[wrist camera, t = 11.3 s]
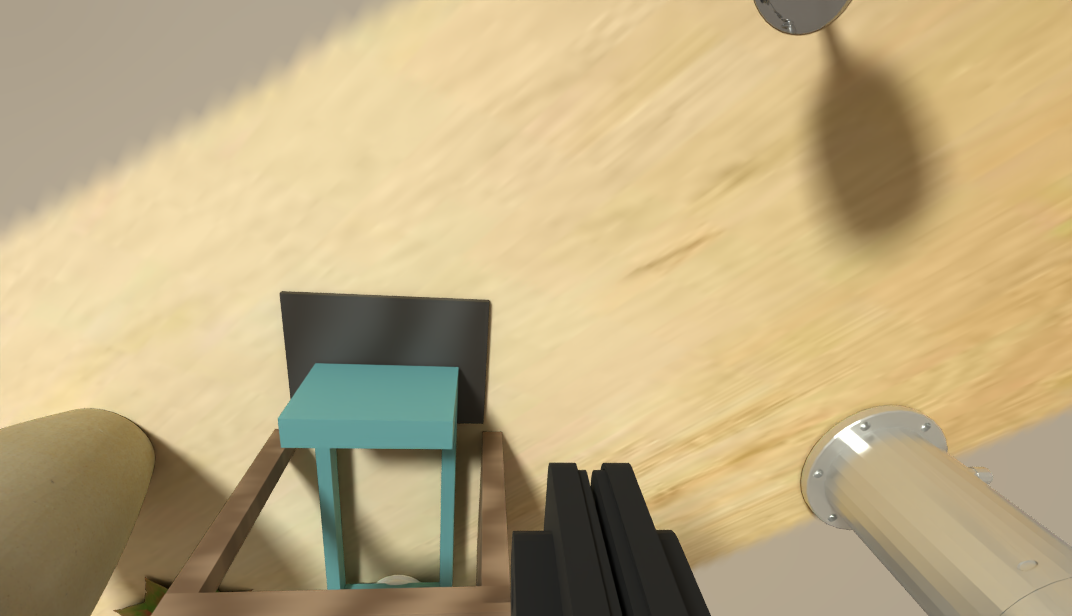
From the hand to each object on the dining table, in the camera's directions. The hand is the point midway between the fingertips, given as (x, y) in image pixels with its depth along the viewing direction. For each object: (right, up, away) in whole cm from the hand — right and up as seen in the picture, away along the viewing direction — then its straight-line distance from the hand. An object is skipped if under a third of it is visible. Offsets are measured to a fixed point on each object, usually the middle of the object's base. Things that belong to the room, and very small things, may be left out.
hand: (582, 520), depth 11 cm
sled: (-13, -14, +31) cm, 37 cm away
